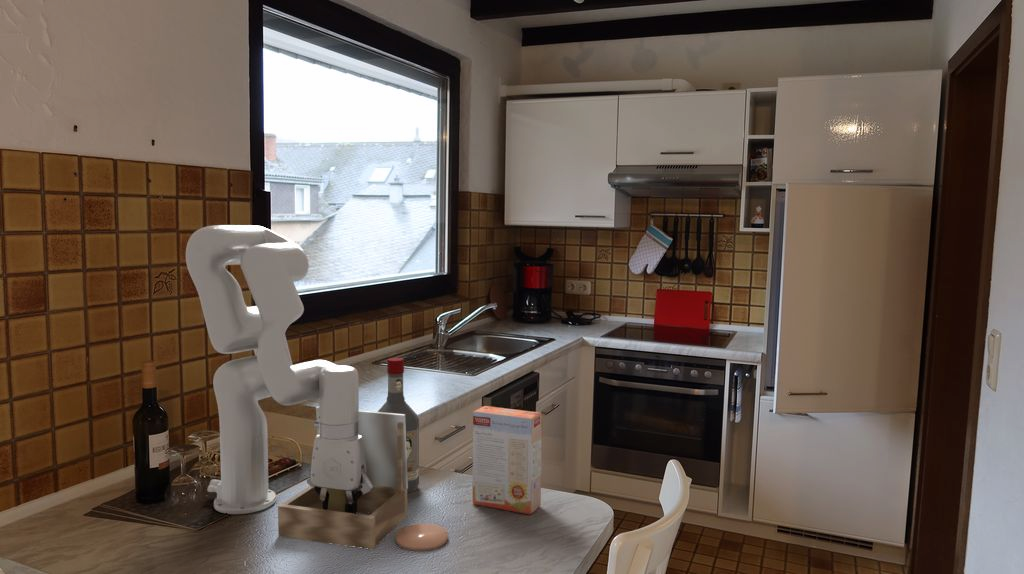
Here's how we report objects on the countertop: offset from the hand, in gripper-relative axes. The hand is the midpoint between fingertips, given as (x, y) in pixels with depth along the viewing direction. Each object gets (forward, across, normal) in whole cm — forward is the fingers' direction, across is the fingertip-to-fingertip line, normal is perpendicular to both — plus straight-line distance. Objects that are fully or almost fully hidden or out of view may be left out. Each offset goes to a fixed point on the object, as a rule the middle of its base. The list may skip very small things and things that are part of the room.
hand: (339, 518), depth 144 cm
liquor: (+3, +1, +24) cm, 24 cm away
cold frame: (+2, 0, +2) cm, 3 cm away
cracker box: (+2, +28, +22) cm, 36 cm away
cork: (+2, 0, 0) cm, 2 cm away
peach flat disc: (+2, +17, +1) cm, 17 cm away
